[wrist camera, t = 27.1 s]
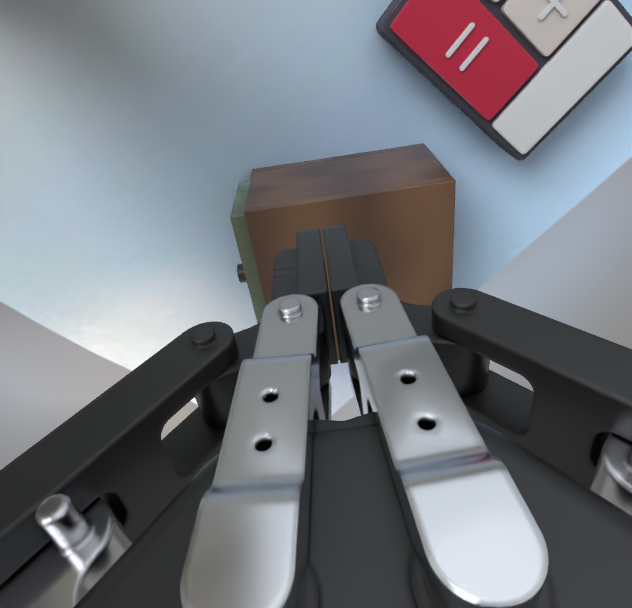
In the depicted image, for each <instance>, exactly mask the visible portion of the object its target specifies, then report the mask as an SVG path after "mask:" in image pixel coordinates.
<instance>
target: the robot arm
mask: <svg viewBox="0 0 632 608" xmlns="http://www.w3.org/2000/svg"><path fill="white" fill-rule="evenodd" d="M322 232H323V240H324V247H325V255H326V262H327V270H328V277H329V285H330V292H331V299H332V306H333V313H334V320H335V327H336V334H337V341H338V348H339V355H340V362H341V363H345V362H348V366H349V372H350V380H351V387H352V390H353V394H354V398H355V402H356V405H357V409H358V413H359V416H358V417H355V418H352V419H350V420H346V421H332V420H331V383H330V377H331V364H338V359H337V351H336V343H335V335H334V328H333V320H332V312H331V304H330V297H329V289H328V282H327V275H326V268H325V261H324V254H323V247H322V240H321V233H320V228H319V229H312V230H305V231H298V232H296V248H292V249H285V250H281V251H280V252H279V253H278V255H277V256H276V257H275V259H274V264H273V281H272V298H271V302H270V303H269V304H268V305H267V306H266V307H265V308H264V310H263V313H262V317H261V322H260V323H258V324H257V325H255V326H253V327H250V328H248V329H245V330H242V331H240V332H237V333H233V330H232V328H231V327H230V326H229V325H227V324H225V323H222V322H206V323H202V324H199V325H196V326H194V327H192V328H190V329H188V330H187V331H185V332H184V333H182V334H181V335H180V336H178V337H177V338H176V339H174V340H173V341H172V342H170V343H169V344H168V345H166V346H165V347H164V348H162V349H161V350H160V351H158V352H157V353H156V354H154V355H153V356H152V357H150V358H149V359H148V360H146V361H145V362H144V363H142V364H141V365H140V366H138V367H137V368H136V369H134V370H133V371H132V372H130V373H129V374H128V375H126V376H125V377H124V378H122V379H121V380H120V381H119V382H117V383H116V384H115V385H113V386H112V387H111V388H109V389H108V390H107V391H105V392H104V393H103V394H101V395H100V396H99V397H97V398H96V399H95V400H93V401H92V402H91V403H89V404H88V405H87V406H85V407H84V408H83V409H81V410H80V411H79V412H77V413H76V414H75V415H74V416H72V417H71V418H69V419H68V420H67V421H65V422H64V423H63V424H61V425H60V426H59V427H57V428H56V429H55V430H53V431H52V432H51V433H50V434H48V435H47V436H45V437H44V438H43V439H41V440H40V441H39V442H37V443H36V444H35V445H33V446H32V447H31V448H29V449H28V450H27V451H26V452H24V453H23V454H21V455H20V456H19V457H18V458H16V459H15V460H14V461H12V462H11V463H9V464H8V465H7V466H6V467H4V468H3V469H2V470H0V608H632V349H629V348H627V347H624V346H621V345H618V344H616V343H613V342H611V341H608V340H606V339H603V338H600V337H598V336H595V335H593V334H590V333H587V332H585V331H582V330H580V329H577V328H574V327H572V326H569V325H567V324H564V323H561V322H559V321H556V320H554V319H551V318H548V317H546V316H543V315H540V314H538V313H535V312H533V311H530V310H527V309H525V308H522V307H520V306H517V305H514V304H512V303H509V302H507V301H504V300H501V299H499V298H496V297H494V296H491V295H488V294H486V293H483V292H480V291H477V290H473V289H467V288H456V289H450V290H446V291H444V292H441V293H440V294H438V295H437V296H436V297H435V298H434V299H433V301H432V306H427V305H415V304H409V303H406V302H403V301H401V300H399V298H398V296H397V294H396V293H395V291H394V290H392V289H391V288H389V286H388V283H387V280H386V277H385V274H384V271H383V268H382V265H381V263H380V259H379V256H378V253H377V250H376V247H375V245H374V244H373V243H372V242H370V241H369V240H367V239H366V238H361V239H354V240H349V237H348V232H347V228H346V225H339V226H332V227H325V228H322ZM490 360H492V361H494V362H496V363H498V364H500V365H502V366H504V367H506V368H508V369H510V370H512V371H514V372H516V373H518V374H520V375H522V376H524V377H525V378H526V379H527V380H528V381H529V382H530V384H531V385H532V387H533V390H534V392H533V391H530V390H529V389H527V388H525V387H522V386H521V385H519V384H517V383H515V382H513V381H511V380H509V379H506V378H505V377H502V376H501V375H499V374H497V373H495V372H493V371H491V370H489V364H490ZM194 397H195V398H196V401H197V403H198V406H199V407H198V408H197V409H196V410H194V411H193V412H192V413H191V414H190V415H189V416H188V417H187V418H186V419H185V420H183V421H182V422H181V423H180V424H179V425H178V426H177V427H176V428H175V429H173V430H172V431H171V432H170V433H169V434H168V435H167V436H166V437H165V438H164V439H163V440H161V432H162V429H163V427H164V425H165V424H166V422H167V421H168V420H169V419H170V418H171V417H172V416H173V415H174V414H176V413H177V412H178V411H179V410H180V409H181V408H182V407H184V406H185V405H186V404H187V403H188V402H189V401H190V400H191V399H193V398H194Z"/></svg>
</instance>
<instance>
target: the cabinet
mask: <svg viewBox="0 0 632 608" xmlns="http://www.w3.org/2000/svg"><path fill="white" fill-rule="evenodd" d="M454 209H455V180H454V179H453V177H452V176H451V175H450V174H449V173H448V172H447V170H446V169H445V168H444V167H443V166H442V164H441V163H440V162H439V161H438V160H437V159H436V157H435V156H434V155H433V154H432V153H431V152H430V150H429V149H428V148H427V147H426V146H425V145H424V144H418V145H411V146H404V147H398V148H391V149H385V150H378V151H371V152H365V153H358V154H351V155H345V156H338V157H332V158H325V159H318V160H312V161H305V162H299V163H292V164H285V165H279V166H272V167H265V168H259V169H253V170H252V175H251V180H250V185H249V190H248V195H247V200H246V205H245V210H244V214H245V219H246V223H247V227H248V231H249V235H250V240H251V244H252V248H253V252H254V256H255V260H256V265H257V269H258V273H259V277H260V281H261V286H262V290H263V294H264V298H265V302H266V306H267V305H268V304H269V303H270V302H271V298H272V281H273V264H274V259H275V257H276V256H277V255H278V253H279V252H280V251H281V250H285V249H292V248H296V232H298V231H305V230H312V229H319V228H320V233H321V240H322V247H323V254H324V261H325V268H326V275H327V282H328V289H329V297H330V304H331V312H332V320H333V328H334V335H335V343H336V351H337V359H338V360H340V355H339V348H338V341H337V334H336V327H335V320H334V313H333V306H332V299H331V292H330V285H329V277H328V270H327V262H326V255H325V247H324V240H323V232H322V228H325V227H332V226H339V225H346V228H347V232H348V237H349V240H354V239H361V238H366V239H367V240H369V241H370V242H372V243H373V244H374V245H375V247H376V250H377V253H378V256H379V259H380V263H381V265H382V268H383V271H384V274H385V277H386V280H387V283H388V286H389V288H391V289H392V290H394V291H395V293H396V294H397V296H398V298H399V300H401V301H403V302H406V303H409V304H415V305H427V306H432V301H433V299H434V298H435V297H436V296H437V295H438V294H440V293H441V292H444V291H446V290H450V289H452V269H453V239H454Z"/></svg>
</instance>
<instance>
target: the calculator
mask: <svg viewBox="0 0 632 608" xmlns="http://www.w3.org/2000/svg"><path fill="white" fill-rule="evenodd" d="M376 29H377V31H378V32H379V34H380V35H382V36H383V37H384V38H385V39H386V40H387V41H388V42H389V43H390V44H391V45H392V46H393V47H394V48H395V49H397V50H398V51H399V52H400V53H401V54H402V55H403V56H404V57H405V58H406V59H407V60H408V61H409V62H410V63H412V64H413V65H414V66H415V67H416V68H417V69H418V70H419V71H420V72H421V73H422V74H423V75H424V76H425V77H427V78H428V79H429V80H430V81H431V82H432V83H433V84H434V85H435V86H436V87H437V88H438V89H439V90H440V91H442V92H443V93H444V94H445V95H446V96H447V97H448V98H449V99H450V100H451V101H452V102H453V103H454V104H455V105H456V106H458V107H459V108H460V109H461V110H462V111H463V112H464V113H465V114H466V115H467V116H468V117H469V118H470V119H471V120H472V121H473V122H474V123H475V124H476V125H477V126H479V127H480V128H481V129H482V130H483V131H484V132H485V133H486V134H487V135H488V136H489V137H490V138H491V139H492V140H493V141H495V142H496V143H497V144H498V145H499V146H500V147H501V148H502V149H503V150H505V151H506V152H507V153H509V154H510V155H511V156H513V157H514V158H515V159H517V160H523V159H525V158H526V157H527V156H528V155H529V154H530V153H531V152H532V151H533V150H534V149H535V148H536V147H537V146H538V145H539V144H540V143H541V142H542V141H543V140H544V139H545V138H546V137H547V136H548V135H549V134H550V133H551V132H552V131H553V130H554V129H555V128H556V127H557V126H558V125H559V124H560V123H561V122H562V121H563V120H564V119H565V118H566V117H567V116H568V115H569V114H570V113H571V112H572V111H573V110H574V109H575V108H576V107H577V105H578V104H579V103H580V102H581V101H582V100H583V99H584V98H585V97H586V96H587V95H588V94H589V93H590V92H591V91H592V90H593V89H594V88H595V87H596V86H597V85H598V84H599V83H600V82H601V81H602V80H603V79H604V78H605V77H606V76H607V75H608V74H609V73H610V72H611V71H612V70H613V69H614V68H615V67H616V66H617V65H618V64H619V63H620V62H621V61H622V60H623V59H624V58H625V57H626V56H627V55H628V54H629V53H630V52H631V51H632V17H631V16H630V14H629V13H628V12H627V11H626V9H625V8H624V7H623V6H622V5H621V3H620V2H619V1H618V0H393V1H392V2H391V4H390V5H389V6H388V8H387V9H386V11H385V12H384V13H383V15H382V16H381V18H380V19H379V20H378V22H377V24H376Z"/></svg>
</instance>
